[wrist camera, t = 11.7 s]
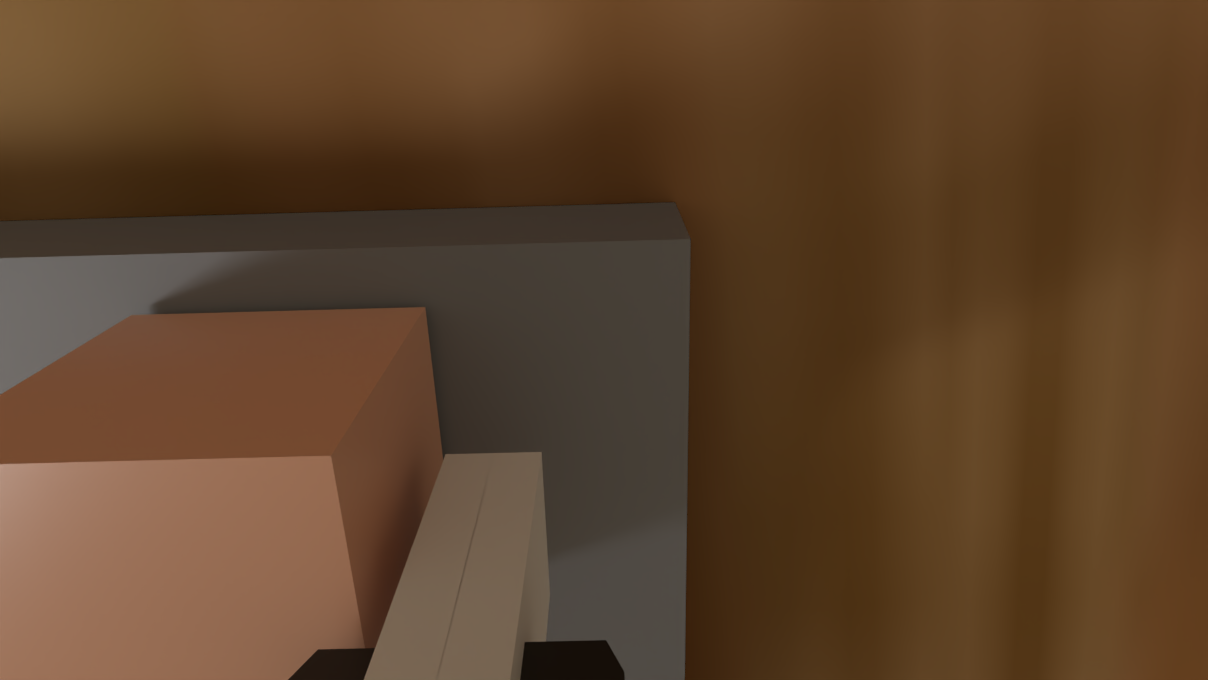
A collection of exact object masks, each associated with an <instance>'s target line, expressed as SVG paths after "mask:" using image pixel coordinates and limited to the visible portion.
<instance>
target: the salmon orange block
mask: <svg viewBox="0 0 1208 680" xmlns="http://www.w3.org/2000/svg"><path fill="white" fill-rule="evenodd" d="M442 463H443V454H442V445H441V437H440V428H439V420H438V411H437V403H436V394H435V385H434V377H433V368H432V360H431V351H430V343H429V334H428V326H427V317H426V309H425V307H408V308H371V309H334V310H297V311H260V312H223V313H186V314H149V315H131V316H129V317H127V318H126V319H124V320H122V321H121V322H119V323H117V324H116V325H114V326H112V327H111V328H109V329H108V330H106V331H104V332H103V333H101V334H99V335H98V336H96V337H94V338H93V339H91V340H89V341H88V342H86V343H85V344H83V345H81V346H80V347H78V348H76V349H75V350H73V351H71V352H70V353H68V354H66V355H65V356H63V357H61V358H60V359H58V360H57V361H55V362H53V363H52V364H50V365H48V366H47V367H45V368H43V369H42V370H40V371H38V372H37V373H35V374H33V375H32V376H30V377H29V378H27V379H25V380H24V381H22V382H20V383H19V384H17V385H15V386H14V387H12V388H10V389H9V390H7V391H6V392H4V393H2V394H1V395H0V680H288V679H289V678H290V677H291V676H292V675H293V674H294V673H295V672H296V671H297V670H298V669H299V668H300V667H301V666H302V665H303V664H304V663H305V662H306V661H307V660H308V659H309V658H310V657H311V656H312V655H313V654H314V653H315V652H316V651H317V650H318V649H355V648H375V647H376V645H377V642H378V639H379V636H380V634H381V631H382V628H383V625H384V623H385V620H386V617H387V614H388V612H389V609H390V606H391V603H392V600H393V598H394V595H395V592H396V589H397V587H398V584H399V581H400V578H401V576H402V573H403V570H404V567H405V565H406V562H407V559H408V556H409V554H410V551H411V548H412V545H413V543H414V540H415V537H416V534H417V532H418V529H419V526H420V523H421V521H422V518H423V515H424V512H425V510H426V507H427V504H428V501H429V499H430V496H431V493H432V490H433V488H434V485H435V482H436V479H437V477H438V474H439V471H440V468H441V466H442Z"/></svg>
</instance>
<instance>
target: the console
mask: <svg viewBox="0 0 1208 680" xmlns="http://www.w3.org/2000/svg"><path fill="white" fill-rule="evenodd" d="M690 252H691V239H690V236H689V234H688V232H687V229H686V227H685V225H684V222H683V220H682V218H681V215H680V213H679V211H678V208H677V206H676V203H675V202H669V203H633V204H597V205H561V206H526V207H490V208H454V209H418V210H382V211H347V212H311V213H275V214H239V215H203V216H167V217H132V218H96V219H60V220H24V221H0V395H1V394H2V393H4V392H6V391H7V390H9V389H10V388H12V387H14V386H15V385H17V384H19V383H20V382H22V381H24V380H25V379H27V378H29V377H30V376H32V375H33V374H35V373H37V372H38V371H40V370H42V369H43V368H45V367H47V366H48V365H50V364H52V363H53V362H55V361H57V360H58V359H60V358H61V357H63V356H65V355H66V354H68V353H70V352H71V351H73V350H75V349H76V348H78V347H80V346H81V345H83V344H85V343H86V342H88V341H89V340H91V339H93V338H94V337H96V336H98V335H99V334H101V333H103V332H104V331H106V330H108V329H109V328H111V327H112V326H114V325H116V324H117V323H119V322H121V321H122V320H124V319H126V318H127V317H129V316H131V315H149V314H186V313H223V312H260V311H297V310H334V309H371V308H408V307H425V309H426V317H427V326H428V334H429V343H430V351H431V360H432V368H433V377H434V385H435V394H436V403H437V411H438V420H439V428H440V437H441V445H442V454H443V460H444V457H445V454H474V453H517V452H542V469H543V485H544V502H545V519H546V535H547V552H548V569H549V585H550V600H549V611H548V623H547V634H546V641H588V640H606V641H607V642H608V644H609V646H610V648H611V649H612V651H613V653H614V655H615V656H616V658H617V660H618V662H619V663H620V665H621V667H622V669H623V670H624V674H625V680H685V630H686V555H687V479H688V403H689V328H690Z"/></svg>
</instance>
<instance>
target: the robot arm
mask: <svg viewBox="0 0 1208 680" xmlns="http://www.w3.org/2000/svg"><path fill="white" fill-rule="evenodd" d="M549 600H550V585H549V569H548V552H547V535H546V519H545V502H544V485H543V469H542V452H517V453H474V454H445V457H444V460H443V463H442V466H441V468H440V471H439V474H438V477H437V479H436V482H435V485H434V488H433V490H432V493H431V496H430V499H429V501H428V504H427V507H426V510H425V512H424V515H423V518H422V521H421V523H420V526H419V529H418V532H417V534H416V537H415V540H414V543H413V545H412V548H411V551H410V554H409V556H408V559H407V562H406V565H405V567H404V570H403V573H402V576H401V578H400V581H399V584H398V587H397V589H396V592H395V595H394V598H393V600H392V603H391V606H390V609H389V612H388V614H387V617H386V620H385V623H384V625H383V628H382V631H381V634H380V636H379V639H378V642H377V645H376V647H375V648H355V649H318V650H317V651H316V652H315V653H314V654H313V655H312V656H311V657H310V658H309V659H308V660H307V661H306V662H305V663H304V664H303V665H302V666H301V667H300V668H299V669H298V670H297V671H296V672H295V673H294V674H293V675H292V676H291V677H290V678H289V679H288V680H625V674H624V670H623V669H622V667H621V665H620V663H619V662H618V660H617V658H616V656H615V655H614V653H613V651H612V649H611V648H610V646H609V644H608V642H607V641H606V640H588V641H546V634H547V623H548V611H549Z"/></svg>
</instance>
